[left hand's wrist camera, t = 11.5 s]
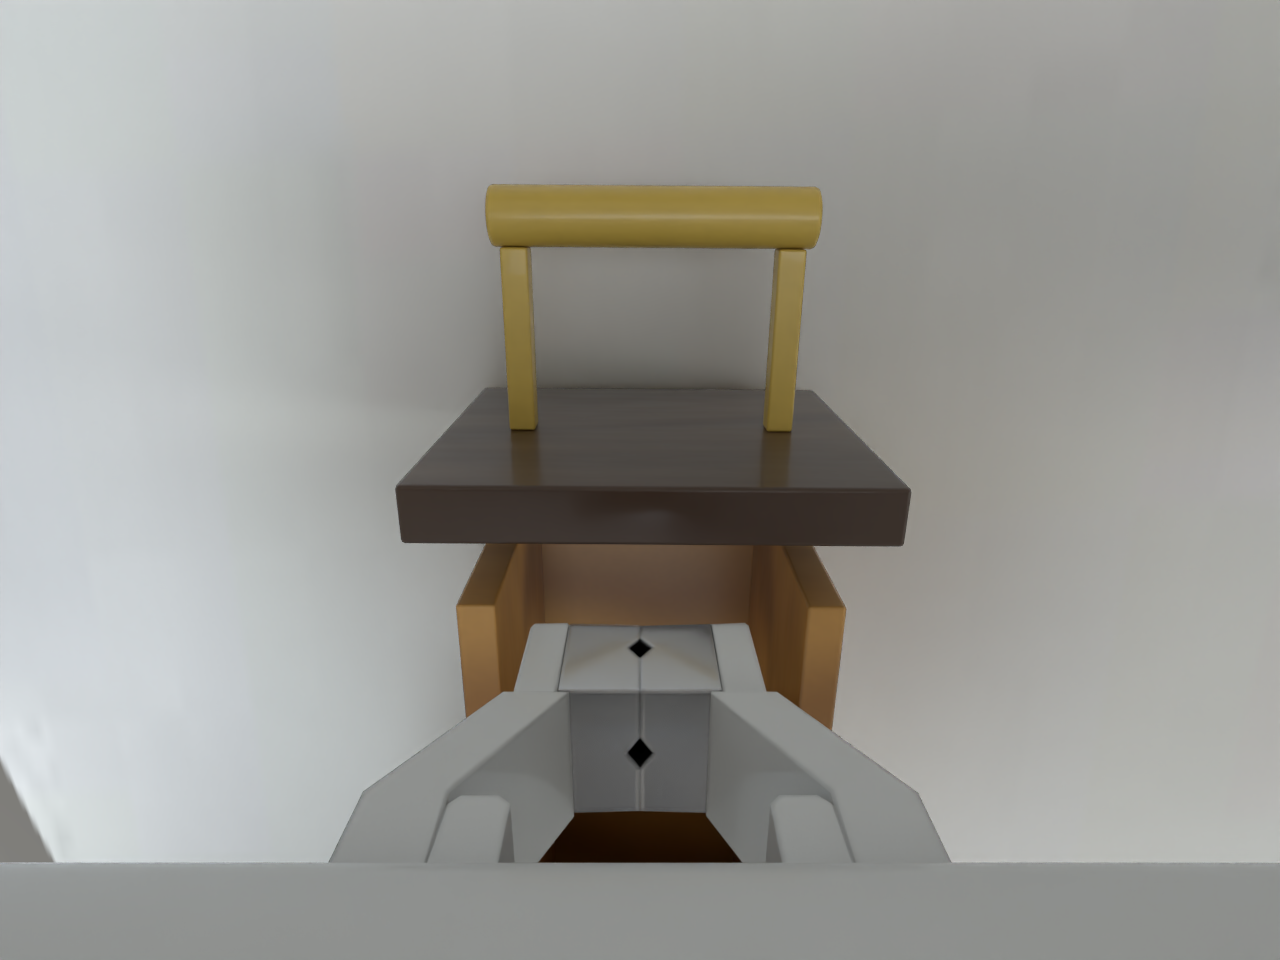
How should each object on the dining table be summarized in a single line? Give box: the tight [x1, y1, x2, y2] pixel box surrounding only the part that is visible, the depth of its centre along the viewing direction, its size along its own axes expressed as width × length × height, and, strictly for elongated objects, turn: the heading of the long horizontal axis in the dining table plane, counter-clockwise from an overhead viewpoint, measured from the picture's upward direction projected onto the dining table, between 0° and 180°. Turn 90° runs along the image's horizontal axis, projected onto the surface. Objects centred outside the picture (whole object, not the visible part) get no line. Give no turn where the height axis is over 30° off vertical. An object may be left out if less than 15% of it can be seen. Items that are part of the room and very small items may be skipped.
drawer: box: [395, 184, 911, 863], centre depth 20 cm, size 24×10×8 cm, turn 0°
